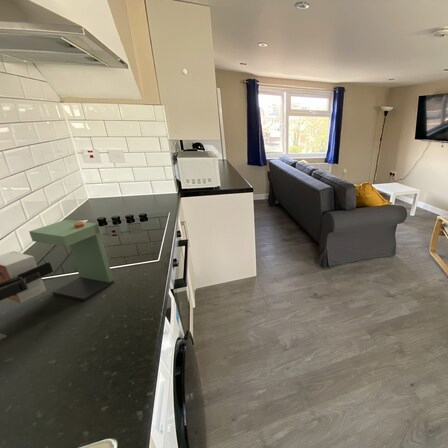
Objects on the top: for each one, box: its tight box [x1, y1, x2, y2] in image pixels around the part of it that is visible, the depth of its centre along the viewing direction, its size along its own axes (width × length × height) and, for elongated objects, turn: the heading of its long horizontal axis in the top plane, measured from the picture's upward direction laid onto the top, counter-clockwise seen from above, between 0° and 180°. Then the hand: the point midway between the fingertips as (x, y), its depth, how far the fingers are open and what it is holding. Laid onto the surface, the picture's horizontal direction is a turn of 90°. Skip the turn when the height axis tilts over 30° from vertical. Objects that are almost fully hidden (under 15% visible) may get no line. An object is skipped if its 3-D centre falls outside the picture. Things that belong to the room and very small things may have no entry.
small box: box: [0, 250, 47, 304], centre depth 66 cm, size 8×6×10 cm
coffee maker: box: [28, 219, 115, 302], centre depth 79 cm, size 12×10×22 cm
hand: (37, 264), depth 70 cm, fingers closed on small box, 8 cm apart
